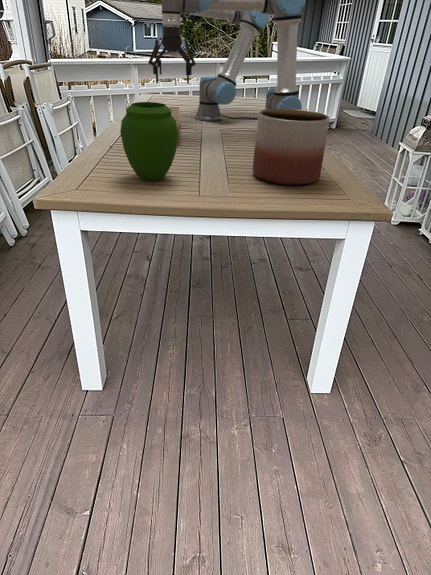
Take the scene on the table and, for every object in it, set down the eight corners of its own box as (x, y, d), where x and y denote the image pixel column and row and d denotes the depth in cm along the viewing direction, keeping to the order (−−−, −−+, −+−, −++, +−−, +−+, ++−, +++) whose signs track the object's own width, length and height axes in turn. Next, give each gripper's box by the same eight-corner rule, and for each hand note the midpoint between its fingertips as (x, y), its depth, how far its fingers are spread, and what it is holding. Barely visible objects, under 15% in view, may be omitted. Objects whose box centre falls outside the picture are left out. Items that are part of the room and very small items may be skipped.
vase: (131, 189, 135) (125, 110, 122) (118, 172, 150) (112, 100, 137) (186, 184, 142) (187, 109, 129) (169, 168, 157) (167, 99, 144)
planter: (329, 187, 147) (342, 121, 135) (261, 187, 143) (268, 120, 131) (305, 166, 168) (314, 109, 156) (245, 167, 164) (250, 107, 152)
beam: (169, 123, 234) (169, 106, 229) (179, 123, 234) (178, 107, 229) (166, 146, 188) (166, 126, 183) (178, 146, 188) (178, 126, 184)
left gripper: (146, 25, 198) (149, 74, 209) (198, 27, 200) (197, 76, 211) (147, 25, 204) (150, 73, 216) (197, 27, 206) (197, 74, 218)
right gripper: (140, 25, 166) (143, 83, 177) (201, 27, 168) (201, 84, 179) (141, 25, 172) (144, 81, 183) (200, 27, 174) (200, 82, 185)
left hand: (173, 74), depth 214 cm, fingers open, 13 cm apart
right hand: (172, 83), depth 181 cm, fingers open, 13 cm apart
